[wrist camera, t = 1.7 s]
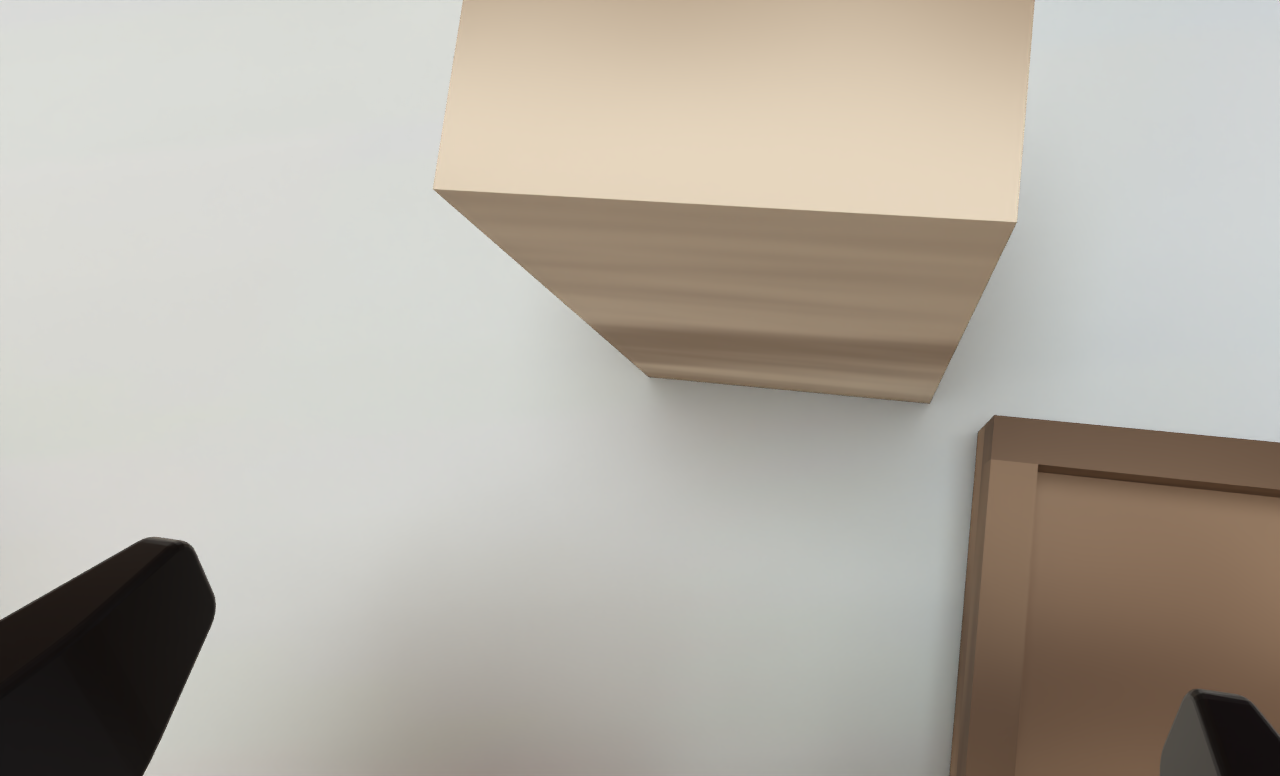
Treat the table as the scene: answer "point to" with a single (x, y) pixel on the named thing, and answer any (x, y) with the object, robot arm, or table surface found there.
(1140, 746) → the brown tray
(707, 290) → the frame block
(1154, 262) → the table surface
